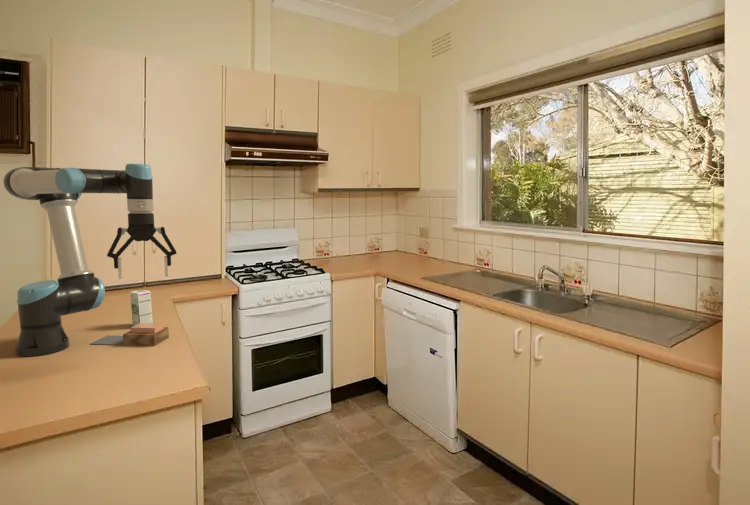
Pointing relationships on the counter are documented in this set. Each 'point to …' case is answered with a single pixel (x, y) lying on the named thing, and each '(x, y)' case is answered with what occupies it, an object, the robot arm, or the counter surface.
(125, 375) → the counter surface
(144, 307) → the syrup box
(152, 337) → the brown wooden flat block
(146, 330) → the salmon orange flat block
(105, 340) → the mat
